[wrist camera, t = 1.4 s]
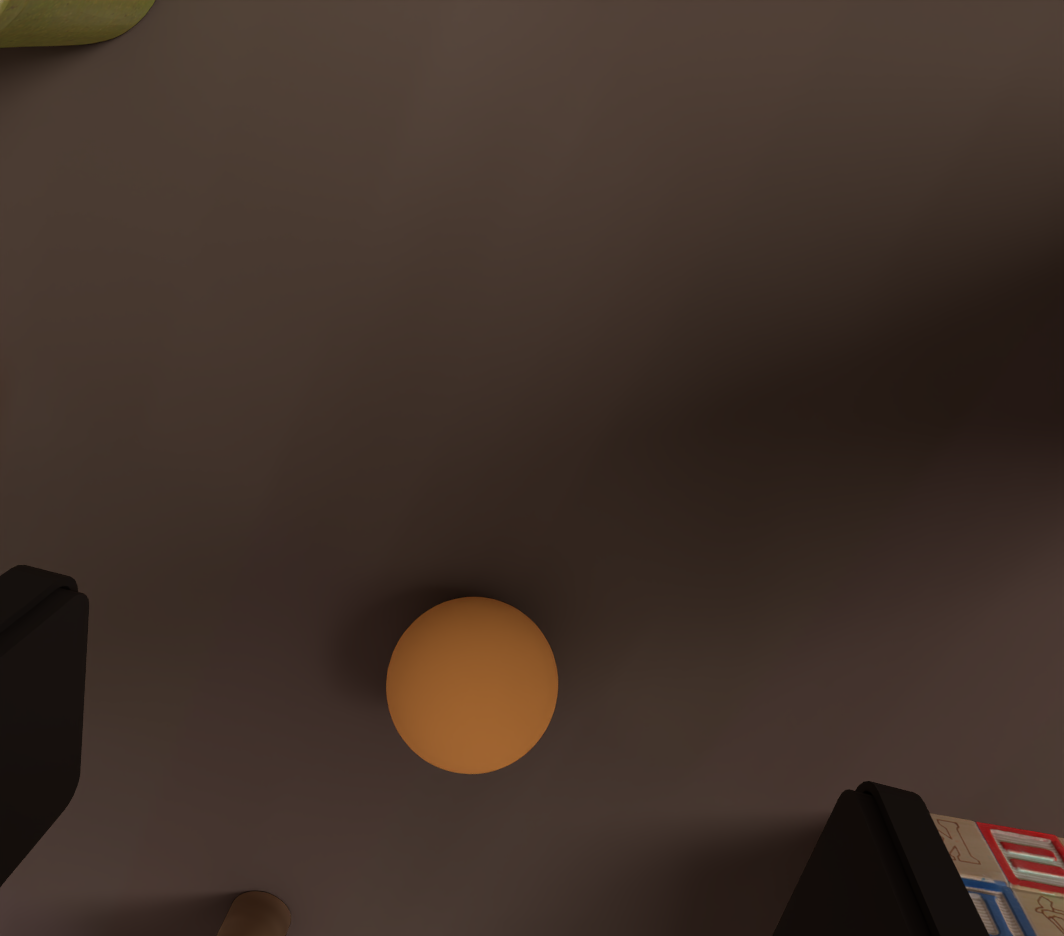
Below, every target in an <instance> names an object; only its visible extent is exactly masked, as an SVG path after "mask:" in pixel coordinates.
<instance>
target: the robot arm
mask: <svg viewBox="0 0 1064 936" xmlns="http://www.w3.org/2000/svg"><path fill="white" fill-rule="evenodd" d="M88 616H89V600H88V598H87V596H86V595H85V594H83V593H80V592H78V587H77V584H76V581H75V580H74V579H73V578H71V577H70V576H66V575H62V574H58V573H54V572H50V571H46V570H42V569H38V568H35V567H31V566H27V565H18V566H16V567H13V568H11V569H10V570H8V571H7V572H5V573H4V574H2V575H1V576H0V887H1V886H2V884H3V883H4V882H5V881H6V879H7V878H8V877H9V876H10V875H11V873H12V872H13V871H14V870H15V869H16V867H17V866H18V865H19V864H20V863H21V861H22V860H23V859H24V858H25V857H26V855H27V854H28V853H29V852H30V851H31V849H32V848H33V847H34V846H35V845H36V843H37V842H38V841H39V840H40V839H41V837H42V836H43V835H44V834H45V833H46V831H47V830H48V829H49V828H50V827H51V825H52V824H53V823H54V822H55V821H56V819H57V818H58V817H59V816H60V815H61V813H62V812H63V811H64V810H65V808H66V807H67V805H68V804H69V802H70V801H71V799H72V797H73V795H74V793H75V790H76V788H77V785H78V782H79V777H80V766H81V747H82V728H83V710H84V691H85V672H86V653H87V634H88ZM773 936H990V935H989V933H988V931H987V929H986V927H985V925H984V923H983V921H982V919H981V917H980V915H979V913H978V911H977V909H976V907H975V905H974V903H973V901H972V899H971V897H970V895H969V893H968V891H967V889H966V887H965V884H964V882H963V880H962V878H961V876H960V874H959V872H958V870H957V868H956V866H955V864H954V862H953V860H952V858H951V856H950V854H949V852H948V850H947V848H946V846H945V844H944V842H943V840H942V838H941V836H940V834H939V832H938V829H937V827H936V825H935V823H934V821H933V819H932V817H931V815H930V813H929V811H928V809H927V807H926V805H925V803H924V802H923V800H922V799H921V797H920V796H919V795H917V794H915V793H913V792H909V791H906V790H902V789H898V788H894V787H890V786H886V785H882V784H878V783H874V782H870V781H866V782H863V783H862V784H860V785H859V786H858V787H857V789H856V791H853V790H845V791H844V792H843V793H842V794H841V795H840V797H839V799H838V801H837V803H836V805H835V807H834V809H833V811H832V813H831V815H830V817H829V819H828V821H827V824H826V826H825V828H824V830H823V832H822V834H821V836H820V838H819V840H818V842H817V844H816V846H815V848H814V851H813V853H812V855H811V857H810V859H809V861H808V863H807V865H806V867H805V869H804V871H803V873H802V876H801V878H800V880H799V882H798V884H797V886H796V888H795V890H794V892H793V894H792V896H791V898H790V900H789V903H788V905H787V907H786V909H785V911H784V913H783V915H782V917H781V919H780V921H779V923H778V925H777V928H776V930H775V932H774V934H773Z"/></svg>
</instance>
